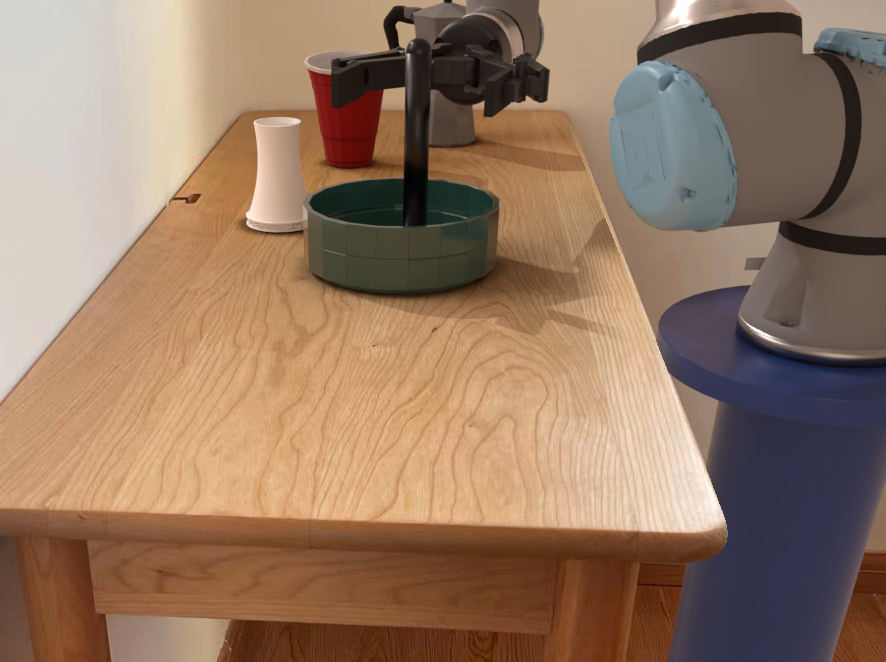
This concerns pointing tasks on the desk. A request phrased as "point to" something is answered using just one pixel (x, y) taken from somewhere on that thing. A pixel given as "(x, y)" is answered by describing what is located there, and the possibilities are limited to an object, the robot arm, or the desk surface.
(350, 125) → the plastic cup
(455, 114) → the coffeepot
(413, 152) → the black stick
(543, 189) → the desk surface
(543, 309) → the desk surface
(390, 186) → the bowl
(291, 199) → the vase
